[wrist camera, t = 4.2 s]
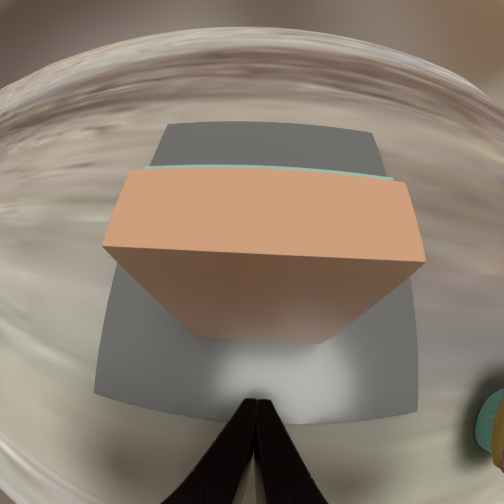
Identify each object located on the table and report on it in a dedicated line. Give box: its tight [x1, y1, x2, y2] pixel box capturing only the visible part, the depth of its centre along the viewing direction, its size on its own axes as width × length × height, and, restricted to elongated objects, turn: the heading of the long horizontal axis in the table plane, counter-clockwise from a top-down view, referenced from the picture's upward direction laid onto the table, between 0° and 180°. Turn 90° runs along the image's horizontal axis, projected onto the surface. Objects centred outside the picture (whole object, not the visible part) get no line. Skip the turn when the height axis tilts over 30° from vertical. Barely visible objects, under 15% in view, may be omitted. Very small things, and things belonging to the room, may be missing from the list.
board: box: [94, 122, 418, 424], centre depth 19 cm, size 24×20×1 cm
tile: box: [102, 165, 426, 344], centre depth 11 cm, size 2×7×11 cm, turn 86°
